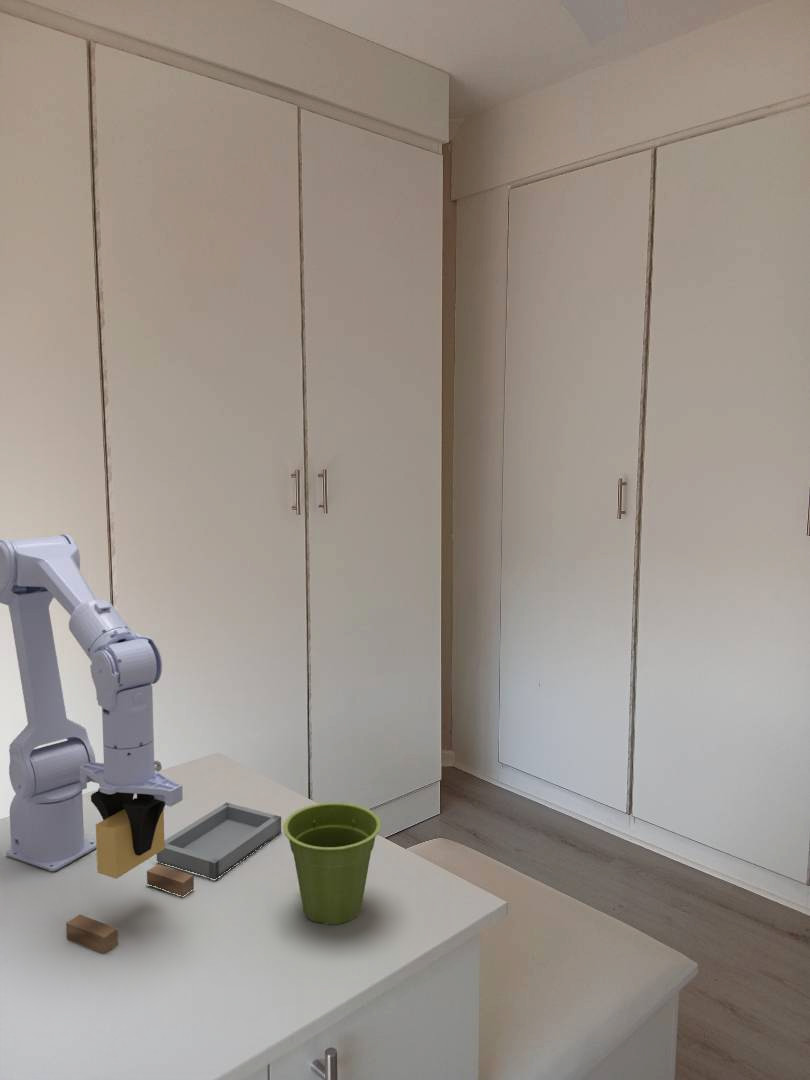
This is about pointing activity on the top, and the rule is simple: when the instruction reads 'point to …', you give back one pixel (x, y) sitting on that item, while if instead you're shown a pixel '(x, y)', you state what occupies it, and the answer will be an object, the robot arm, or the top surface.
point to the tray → (219, 840)
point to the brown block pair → (107, 936)
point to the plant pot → (332, 857)
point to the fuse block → (122, 845)
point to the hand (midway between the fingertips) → (132, 848)
